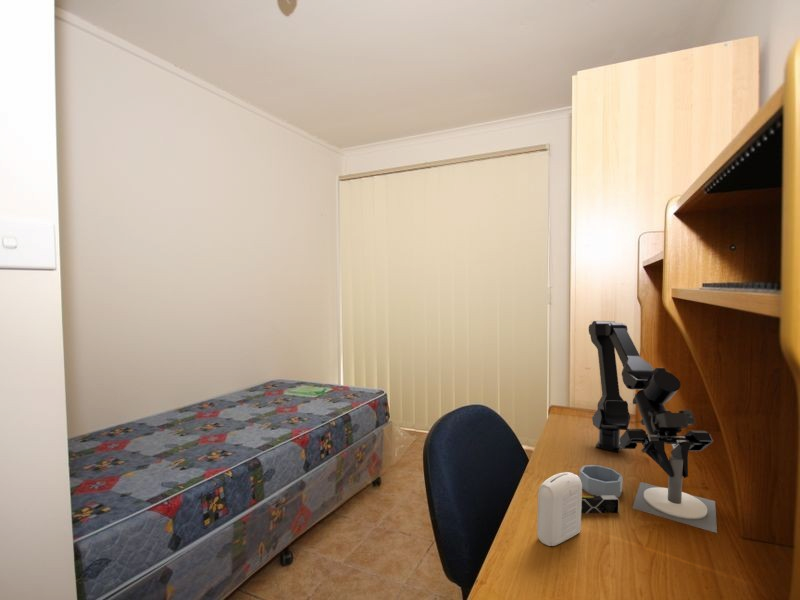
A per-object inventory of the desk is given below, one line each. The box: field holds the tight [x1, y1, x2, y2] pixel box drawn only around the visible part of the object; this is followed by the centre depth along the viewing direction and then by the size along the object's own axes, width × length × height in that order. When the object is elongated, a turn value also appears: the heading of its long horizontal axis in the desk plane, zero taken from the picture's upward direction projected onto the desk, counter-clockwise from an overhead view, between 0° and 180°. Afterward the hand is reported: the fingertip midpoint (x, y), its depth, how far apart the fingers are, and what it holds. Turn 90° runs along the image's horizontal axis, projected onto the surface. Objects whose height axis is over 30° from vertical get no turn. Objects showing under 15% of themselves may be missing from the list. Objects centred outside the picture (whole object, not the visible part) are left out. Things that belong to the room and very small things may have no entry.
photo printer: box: [536, 471, 583, 547], centre depth 82 cm, size 10×4×12 cm, turn 123°
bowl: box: [578, 464, 624, 498], centre depth 100 cm, size 9×9×4 cm
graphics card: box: [581, 495, 620, 515], centre depth 90 cm, size 12×3×5 cm, turn 93°
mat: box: [632, 481, 718, 534], centre depth 93 cm, size 15×15×1 cm
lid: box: [644, 455, 707, 520], centre depth 93 cm, size 12×12×10 cm
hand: (679, 477), depth 91 cm, fingers closed on lid, 3 cm apart
